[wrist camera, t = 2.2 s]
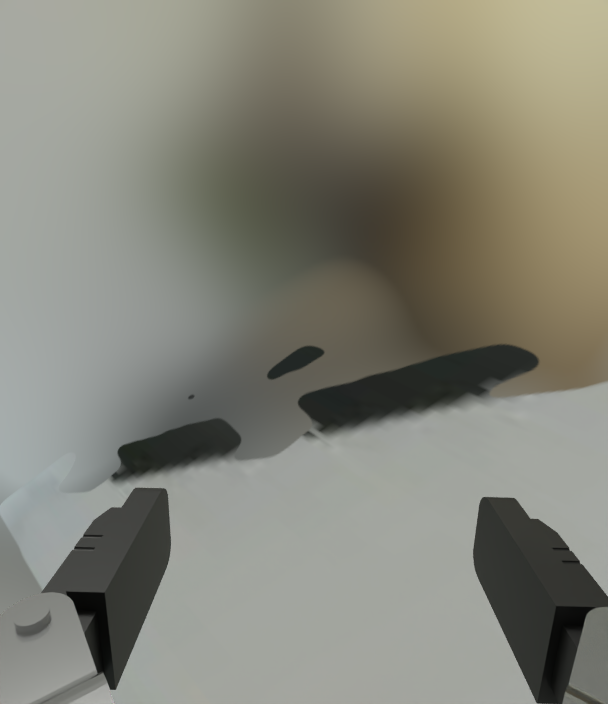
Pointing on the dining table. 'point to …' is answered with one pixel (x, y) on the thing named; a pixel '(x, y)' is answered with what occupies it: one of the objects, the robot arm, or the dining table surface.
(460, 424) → the dining table surface
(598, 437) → the dining table surface
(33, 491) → the dining table surface
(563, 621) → the robot arm
